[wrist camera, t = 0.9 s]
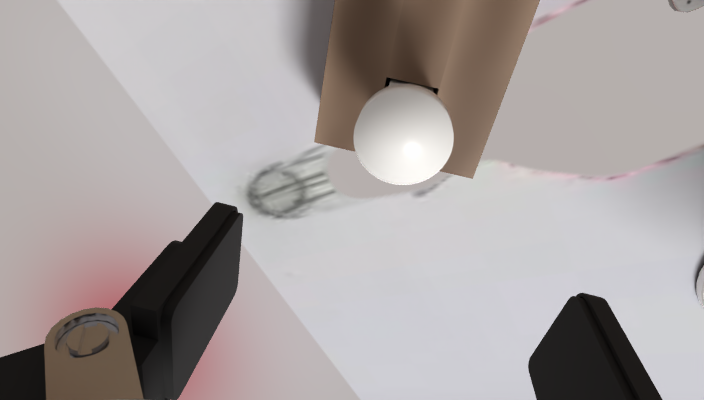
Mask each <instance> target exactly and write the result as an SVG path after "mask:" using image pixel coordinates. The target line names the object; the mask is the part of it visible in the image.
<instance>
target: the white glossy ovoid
mask: <svg viewBox="0 0 704 400" xmlns="http://www.w3.org/2000/svg"><path fill="white" fill-rule="evenodd" d="M453 142H454V133H453V127H452V122H451V117H450V114H449V111H448V109H447V107H446V106H445V104H444V103H443V101H442V100H441V99H440V98H439V97H438V96H437V95H436V94H435V93H434V92H433V87H429V86H424V85H420V84H415V83H411V82H406V81H402V80H397V79H393V78H391V80H390V84H389V86H388V87H386V88H383V89H382V90H380V91H378V92H377V93H375V94H374V95H373V96H372V97H371V98H370V99H369V100H368V101H367V102H366V104H365V105H364V107H363V108H362V110H361V113H360V115H359V117H358V120H357V122H356V125H355V129H354V148H355V151H356V154H357V156H358V159H359V160H360V162H361V164H362V165H363V166H364V167H365V169H366V170H367V171H368V172H370V173H371V174H372V175H373V176H375V177H376V178H378V179H380V180H382V181H385V182H387V183H391V184H397V185H410V184H416V183H419V182H422V181H424V180H427V179H429V178H430V177H432V176H433V175H435V174H436V173H437V172H439V171H440V170H441V169H442V167H443V166H444V165H445V164H446V162H447V160H448V159H449V157H450V154H451V152H452V148H453Z"/></svg>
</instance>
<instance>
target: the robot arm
mask: <svg viewBox="0 0 704 400" xmlns="http://www.w3.org/2000/svg"><path fill="white" fill-rule="evenodd" d="M242 225H243V214H242V213H238V210H237V207H235V206H231V205H227V204H223V203H219V202H216V203H215V204H214V205H213V206H212V207H211V208H210V209H209V211H208V212H207V213H206V214H205V215H204V217H203V218H202V219H201V220H200V221H199V223H198V224H197V225H196V226H195V227H194V228H193V230H192V231H191V232H190V233H189V235H188V236H187V237H186V238H185V239H184V240H183V242H179V241H172V242H171V243H170V244H169V245H168V246H167V247H166V248H165V249H164V250H163V251H162V253H161V254H160V255H159V256H158V257H157V258H156V259H155V260H154V262H153V263H152V264H151V265H150V266H149V267H148V268H147V270H146V271H145V272H144V273H143V274H142V275H141V276H140V278H139V279H138V280H137V281H136V282H135V283H134V284H133V285H132V287H131V288H130V289H129V290H128V291H127V292H126V293H125V295H124V296H123V297H122V298H121V299H120V300H119V301H118V303H117V304H116V305H115V306H114V307H113V308H112V309H111V310H110V309H107V308H91V309H84V310H81V311H78V312H75V313H72V314H70V315H68V316H67V317H65V318H64V319H61V320H60V321H59V322H58V323H57V324H56V325H54V326H53V327H52V328H51V330H50V331H49V333H48V334H47V336H46V340H45V344H42V345H39V346H35V347H32V348H29V349H26V350H23V351H20V352H17V353H13V354H10V355H7V356H4V357H1V358H0V400H170V399H171V400H177V399H178V398H179V396H180V395H181V393H182V391H183V389H184V387H185V386H186V384H187V382H188V380H189V378H190V376H191V375H192V373H193V371H194V369H195V367H196V365H197V363H198V362H199V360H200V358H201V356H202V354H203V352H204V350H205V349H206V347H207V345H208V343H209V341H210V340H211V338H212V336H213V334H214V332H215V330H216V329H217V326H218V325H219V323H220V321H221V319H222V318H223V316H224V314H225V312H226V310H227V308H228V306H229V305H230V303H231V301H232V299H233V297H234V295H235V293H236V289H237V285H238V274H239V262H240V250H241V237H242ZM696 292H697V296H698V299H699V302H700V303H701V305H702V306H703V308H704V266H703V268H702V269H701V271H700V273H699V276H698V280H697V289H696ZM528 368H529V373H530V377H531V380H532V384H533V388H534V391H535V395H536V398H537V400H662V398H661V396H660V395H659V393H658V391H657V389H656V388H655V386H654V384H653V382H652V381H651V379H650V377H649V375H648V373H647V372H646V370H645V368H644V366H643V365H642V363H641V361H640V359H639V358H638V356H637V354H636V352H635V351H634V349H633V347H632V345H631V343H630V342H629V340H628V338H627V336H626V335H625V333H624V331H623V329H622V328H621V326H620V324H619V322H618V321H617V319H616V317H615V315H614V313H613V312H612V310H611V308H610V306H609V305H608V303H607V301H606V300H605V299H603V298H601V297H597V296H593V295H589V294H585V293H579V294H578V295H577V296H576V297H575V296H572V297H570V299H569V300H568V301H567V303H566V304H565V306H564V307H563V309H562V310H561V312H560V313H559V315H558V316H557V318H556V319H555V321H554V322H553V324H552V325H551V327H550V329H549V330H548V332H547V333H546V335H545V336H544V338H543V339H542V341H541V342H540V344H539V345H538V347H537V348H536V350H535V351H534V353H533V354H532V356H531V357H530V360H529V365H528Z"/></svg>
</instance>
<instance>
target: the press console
mask: <svg viewBox="0 0 704 400" xmlns="http://www.w3.org/2000/svg"><path fill="white" fill-rule="evenodd" d="M539 1H540V0H335V3H334V10H333V17H332V24H331V30H330V37H329V44H328V51H327V58H326V65H325V72H324V79H323V86H322V93H321V99H320V106H319V113H318V120H317V127H316V134H315V141H314V142H316V143H320V144H324V145H329V146H333V147H337V148H342V149H346V150H351V151H355V148H354V129H355V125H356V122H357V120H358V117H359V115H360V113H361V110H362V108H363V107H364V105H365V104H366V102H367V101H368V100H369V99H370V98H371V97H372V96H373V95H374V94H375V93H377V92H378V91H380V90H382V89H383V88H386V85H387V80H388V77H389V78H393V79H397V80H402V81H406V82H411V83H415V84H420V85H424V86H429V87H433V92H434V93H435V94H436V95H437V96H438V97H439V98H440V99H441V100H442V101H443V103H444V104H445V106H446V107H447V109H448V111H449V114H450V117H451V122H452V127H453V133H454V142H453V148H452V152H451V154H450V157H449V159H448V160H447V162H446V164H445V165H444V166H443V167H442V169H441V170H440V171H442V172H446V173H450V174H455V175H459V176H463V177H468V178H472V179H473V176H474V174H475V171H476V168H477V166H478V163H479V160H480V158H481V155H482V153H483V150H484V147H485V145H486V142H487V139H488V136H489V134H490V131H491V129H492V126H493V123H494V121H495V118H496V115H497V112H498V110H499V107H500V105H501V102H502V99H503V97H504V94H505V92H506V89H507V86H508V84H509V81H510V78H511V75H512V73H513V70H514V68H515V65H516V62H517V59H518V57H519V54H520V52H521V49H522V46H523V44H524V41H525V39H526V36H527V33H528V31H529V28H530V25H531V23H532V20H533V17H534V15H535V12H536V9H537V7H538V4H539ZM355 152H356V151H355Z"/></svg>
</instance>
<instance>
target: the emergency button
mask: <svg viewBox="0 0 704 400" xmlns="http://www.w3.org/2000/svg"><path fill="white" fill-rule="evenodd" d="M668 2H669V5H670V7H671V8H672V9H673V10H674V11H681V12H690V11H693V10H696V9H698V8H700V7H702V6H704V0H668Z"/></svg>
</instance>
